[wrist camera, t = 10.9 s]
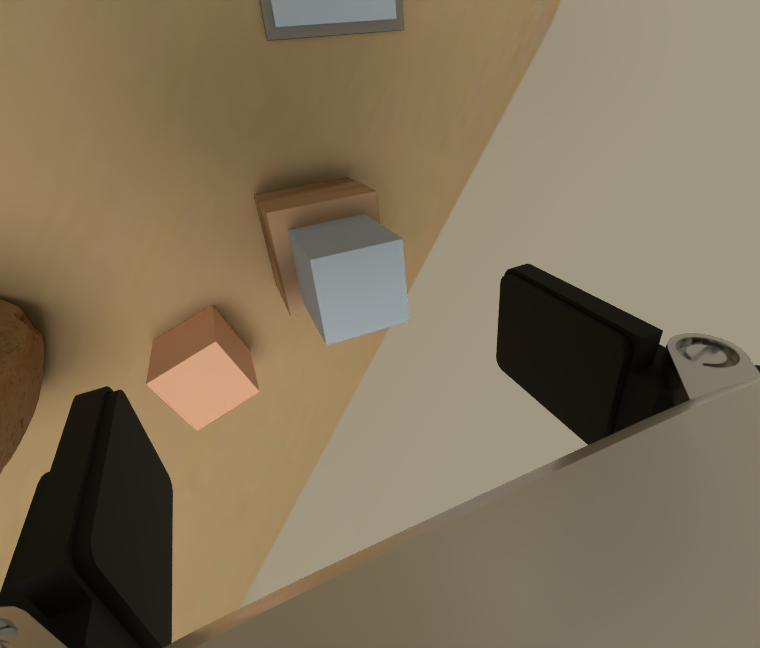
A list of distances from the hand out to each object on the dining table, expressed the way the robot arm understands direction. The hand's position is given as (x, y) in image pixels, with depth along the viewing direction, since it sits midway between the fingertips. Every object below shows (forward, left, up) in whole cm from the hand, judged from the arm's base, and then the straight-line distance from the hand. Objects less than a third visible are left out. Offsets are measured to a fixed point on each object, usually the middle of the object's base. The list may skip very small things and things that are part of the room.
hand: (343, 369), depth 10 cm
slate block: (+4, +4, -17) cm, 18 cm away
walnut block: (+4, +4, -23) cm, 24 cm away
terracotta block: (+11, -6, -23) cm, 26 cm away
